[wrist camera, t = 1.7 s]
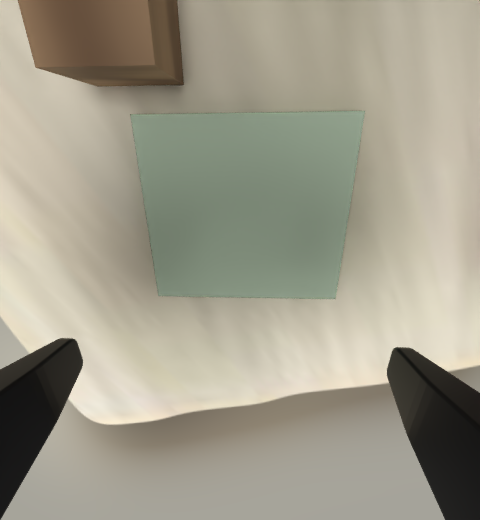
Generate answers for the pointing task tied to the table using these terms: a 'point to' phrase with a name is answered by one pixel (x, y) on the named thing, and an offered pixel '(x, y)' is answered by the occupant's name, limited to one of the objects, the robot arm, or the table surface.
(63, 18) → the walnut block
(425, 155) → the table surface
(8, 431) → the robot arm
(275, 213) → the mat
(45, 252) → the table surface
